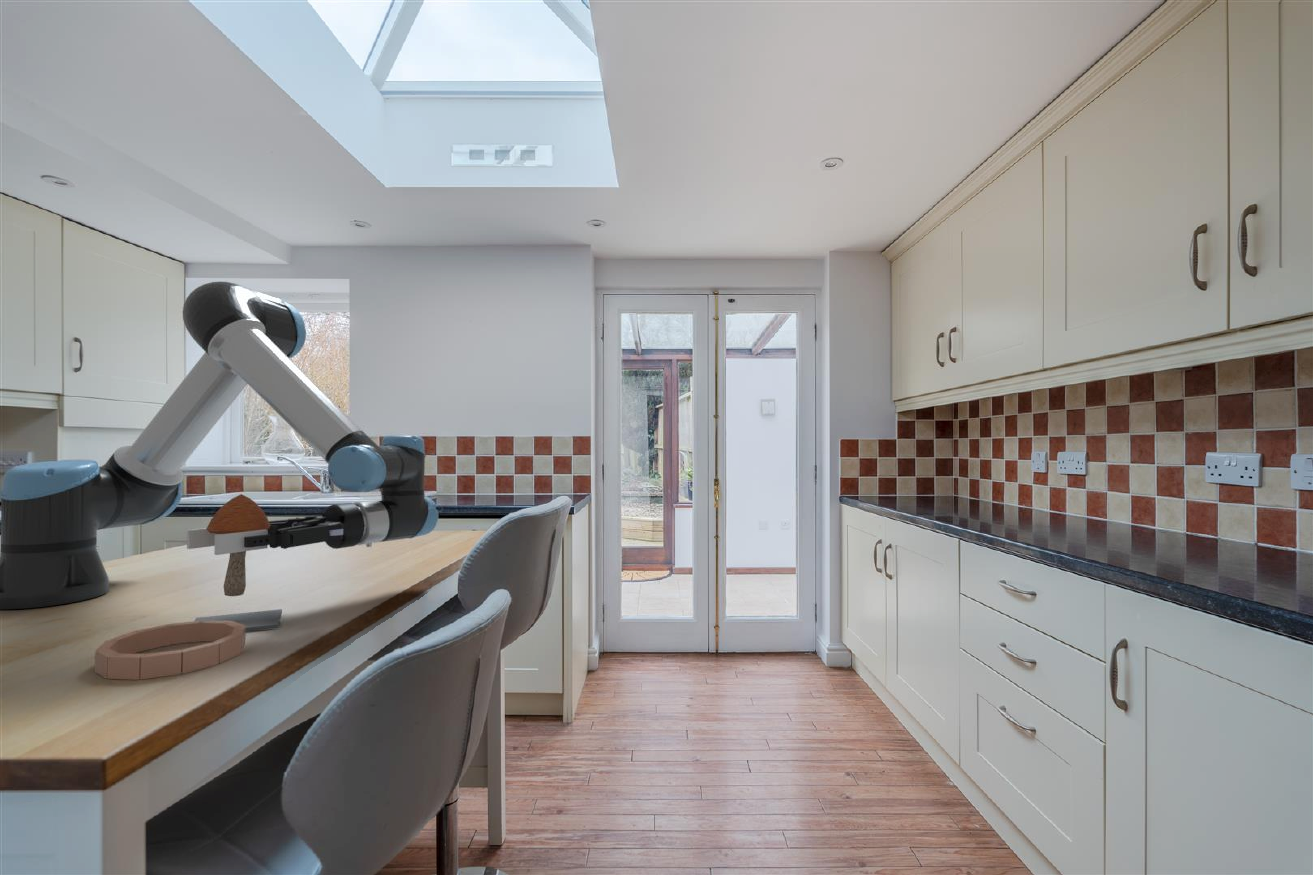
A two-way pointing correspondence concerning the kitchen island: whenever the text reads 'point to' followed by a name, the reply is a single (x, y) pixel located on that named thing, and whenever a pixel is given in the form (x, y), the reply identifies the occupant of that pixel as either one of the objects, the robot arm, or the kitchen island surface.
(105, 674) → the ring
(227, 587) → the mushroom
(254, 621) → the mat
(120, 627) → the kitchen island surface
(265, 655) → the kitchen island surface
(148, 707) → the kitchen island surface
